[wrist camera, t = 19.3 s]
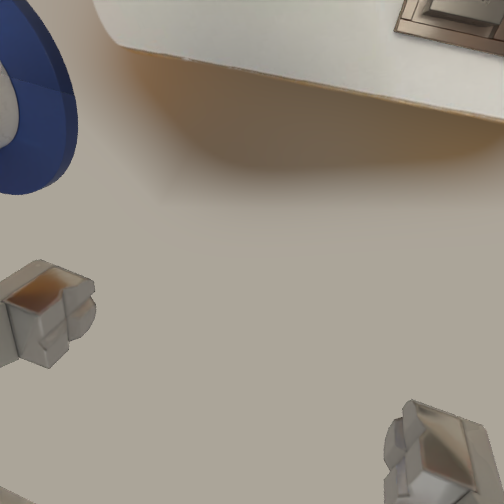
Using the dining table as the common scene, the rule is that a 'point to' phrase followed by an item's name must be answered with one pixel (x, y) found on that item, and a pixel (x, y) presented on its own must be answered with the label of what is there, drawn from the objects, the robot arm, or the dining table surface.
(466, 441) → the robot arm
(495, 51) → the brown compartment tray
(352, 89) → the dining table surface
